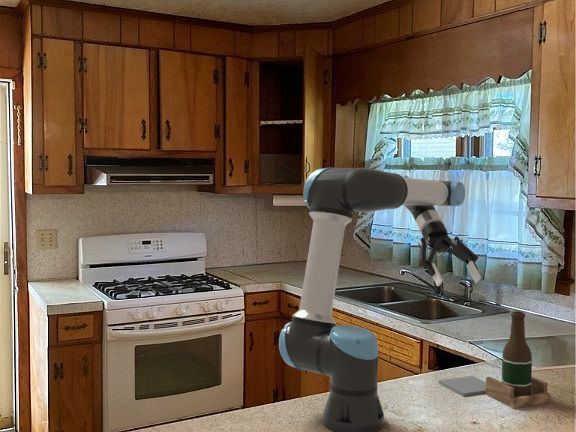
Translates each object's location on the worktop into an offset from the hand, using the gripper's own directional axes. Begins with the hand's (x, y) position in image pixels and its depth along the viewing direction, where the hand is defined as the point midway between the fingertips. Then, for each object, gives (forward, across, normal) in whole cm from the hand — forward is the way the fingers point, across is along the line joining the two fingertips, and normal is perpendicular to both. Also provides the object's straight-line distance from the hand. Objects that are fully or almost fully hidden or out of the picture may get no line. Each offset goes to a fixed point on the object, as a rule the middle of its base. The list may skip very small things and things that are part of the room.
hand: (459, 282), depth 188 cm
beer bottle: (+34, -5, -7) cm, 36 cm away
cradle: (+34, -5, -7) cm, 36 cm away
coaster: (+26, +2, -16) cm, 30 cm away
